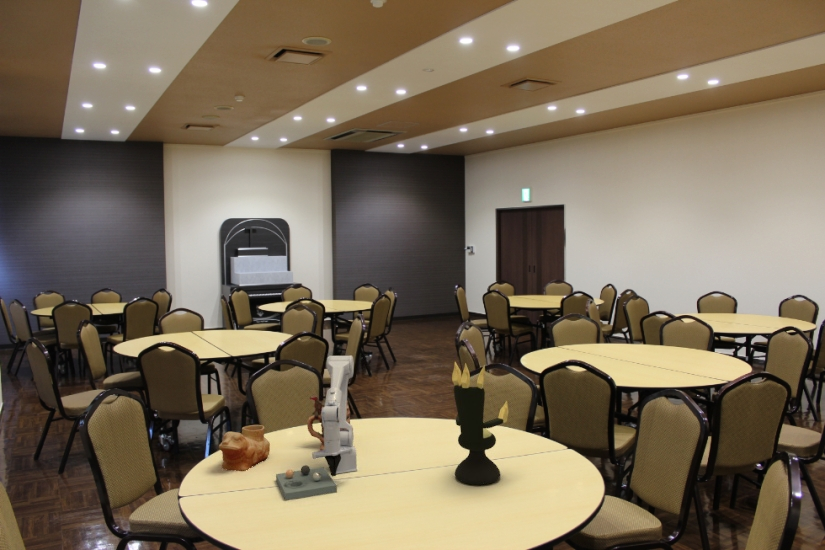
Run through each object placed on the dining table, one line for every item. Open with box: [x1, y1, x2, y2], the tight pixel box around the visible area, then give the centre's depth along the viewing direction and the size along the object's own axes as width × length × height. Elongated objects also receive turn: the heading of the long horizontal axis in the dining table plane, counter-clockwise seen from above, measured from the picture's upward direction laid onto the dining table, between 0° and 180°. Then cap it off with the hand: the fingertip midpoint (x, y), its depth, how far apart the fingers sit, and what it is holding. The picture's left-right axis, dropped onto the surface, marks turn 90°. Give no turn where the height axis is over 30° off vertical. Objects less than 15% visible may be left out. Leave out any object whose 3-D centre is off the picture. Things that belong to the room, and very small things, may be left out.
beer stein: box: [306, 394, 351, 451], centre depth 279 cm, size 17×28×18 cm
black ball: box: [300, 464, 311, 475], centre depth 241 cm, size 3×3×3 cm
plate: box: [275, 466, 338, 501], centre depth 236 cm, size 18×20×2 cm
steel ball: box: [312, 472, 321, 481], centre depth 235 cm, size 3×3×3 cm
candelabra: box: [451, 361, 509, 486], centre depth 237 cm, size 19×22×45 cm
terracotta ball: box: [285, 469, 294, 478], centre depth 238 cm, size 3×3×3 cm
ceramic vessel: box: [218, 424, 271, 472], centre depth 262 cm, size 14×26×15 cm, turn 158°
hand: (333, 475), depth 237 cm, fingers closed
